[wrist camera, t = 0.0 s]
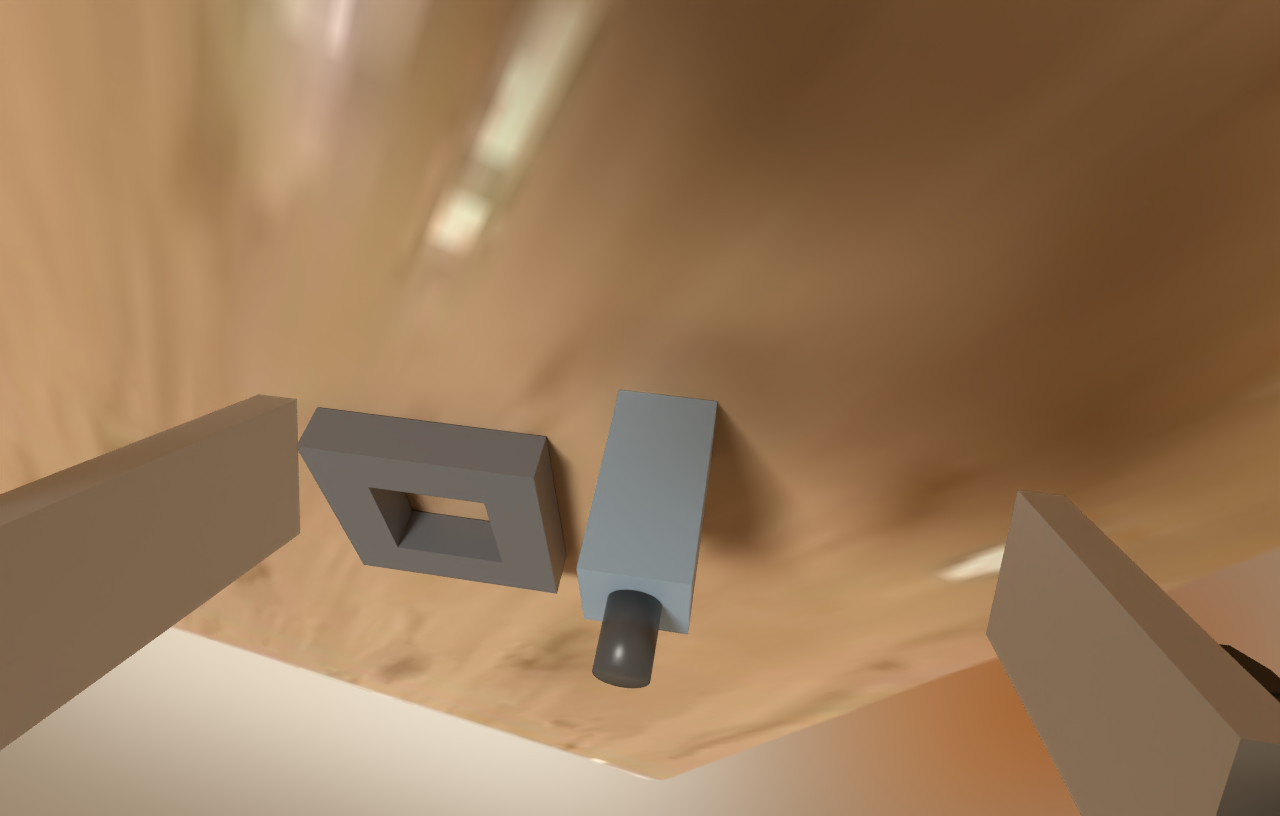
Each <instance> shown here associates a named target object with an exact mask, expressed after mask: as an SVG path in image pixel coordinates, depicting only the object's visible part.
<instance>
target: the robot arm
mask: <svg viewBox="0 0 1280 816" xmlns="http://www.w3.org/2000/svg"><path fill="white" fill-rule="evenodd" d="M299 534H300V509H299V469H298V429H297V399H292V398H284V397H276V396H268V395H260V394H259V395H256V396H253V397H251V398H248V399H246V400H243V401H241V402H238V403H235V404H233V405H230V406H228V407H225V408H222V409H220V410H217V411H215V412H212V413H210V414H207V415H204V416H202V417H199V418H197V419H194V420H191V421H189V422H186V423H184V424H181V425H179V426H176V427H173V428H171V429H168V430H166V431H163V432H160V433H158V434H155V435H153V436H150V437H148V438H145V439H142V440H140V441H137V442H135V443H132V444H129V445H127V446H124V447H122V448H119V449H117V450H114V451H111V452H109V453H106V454H104V455H101V456H98V457H96V458H93V459H91V460H88V461H86V462H83V463H80V464H78V465H75V466H73V467H70V468H67V469H65V470H62V471H60V472H57V473H55V474H52V475H49V476H47V477H44V478H42V479H39V480H36V481H34V482H31V483H29V484H26V485H23V486H21V487H18V488H16V489H13V490H11V491H8V492H5V493H3V494H0V750H2V749H3V748H5V747H6V746H7V745H9V744H10V743H11V742H13V741H14V740H16V739H17V738H18V737H20V736H21V735H22V734H24V733H25V732H27V731H28V730H29V729H31V728H32V727H33V726H35V725H36V724H38V723H39V722H40V721H42V720H43V719H45V718H46V717H47V716H49V715H50V714H51V713H53V712H54V711H56V710H57V709H58V708H60V707H61V706H62V705H64V704H65V703H67V702H68V701H69V700H71V699H72V698H74V697H75V696H76V695H78V694H79V693H81V692H82V691H83V690H85V689H86V688H87V687H88V686H90V685H91V684H93V683H94V682H96V681H97V680H98V679H100V678H101V677H103V676H104V675H105V674H106V673H108V672H109V671H111V670H112V669H113V668H115V667H116V666H118V665H119V664H121V663H122V662H123V661H125V660H126V659H127V658H129V657H130V656H132V655H133V654H134V653H136V652H137V651H138V650H140V649H141V648H143V647H144V646H145V645H147V644H148V643H149V642H151V641H152V640H154V639H155V638H156V637H158V636H159V635H160V634H162V633H163V632H165V631H166V630H167V629H169V628H170V627H172V626H173V625H174V624H176V623H177V622H178V621H180V620H181V619H183V618H184V617H185V616H187V615H188V614H190V613H191V612H192V611H194V610H195V609H196V608H198V607H199V606H201V605H202V604H203V603H205V602H206V601H207V600H209V599H210V598H212V597H213V596H214V595H216V594H217V593H218V592H220V591H221V590H223V589H224V588H225V587H227V586H228V585H230V584H231V583H232V582H234V581H235V580H236V579H238V578H239V577H241V576H242V575H243V574H245V573H246V572H247V571H249V570H250V569H252V568H253V567H254V566H256V565H257V564H259V563H260V562H261V561H263V560H264V559H265V558H267V557H268V556H270V555H271V554H272V553H274V552H275V551H276V550H278V549H279V548H281V547H282V546H283V545H285V544H286V543H287V542H289V541H290V540H292V539H293V538H294V537H296V536H297V535H299ZM986 635H987V637H988V638H989V640H990V642H991V644H992V646H993V648H994V650H995V652H996V654H997V656H998V657H999V659H1000V661H1001V663H1002V665H1003V667H1004V669H1005V671H1006V673H1007V675H1008V676H1009V678H1010V680H1011V682H1012V684H1013V686H1014V688H1015V690H1016V692H1017V693H1018V696H1019V697H1020V699H1021V701H1022V703H1023V705H1024V707H1025V709H1026V711H1027V712H1028V714H1029V716H1030V718H1031V720H1032V722H1033V724H1034V726H1035V728H1036V730H1037V731H1038V733H1039V735H1040V737H1041V739H1042V741H1043V743H1044V745H1045V747H1046V749H1047V751H1048V753H1049V755H1050V756H1051V758H1052V760H1053V762H1054V764H1055V766H1056V768H1057V770H1058V772H1059V774H1060V775H1061V777H1062V779H1063V781H1064V783H1065V785H1066V787H1067V789H1068V791H1069V792H1070V794H1071V796H1072V798H1073V800H1074V802H1075V804H1076V806H1077V808H1078V810H1079V811H1080V814H1081V815H1082V816H1280V678H1279V677H1278V676H1277V675H1276V674H1275V673H1273V672H1272V671H1271V670H1270V669H1268V668H1266V667H1265V666H1263V665H1261V664H1260V663H1258V662H1256V661H1255V660H1253V659H1251V658H1250V657H1248V656H1246V655H1245V654H1243V653H1241V652H1239V651H1238V650H1236V649H1235V648H1233V647H1231V646H1229V645H1221V644H1218V643H1217V642H1216V641H1215V640H1214V639H1213V638H1212V637H1211V636H1210V635H1209V634H1208V633H1207V632H1206V631H1205V630H1204V629H1202V628H1201V626H1200V625H1198V624H1197V623H1196V622H1195V621H1194V620H1193V619H1192V618H1191V617H1190V616H1189V615H1188V614H1187V613H1186V612H1185V611H1184V610H1183V609H1182V608H1181V607H1180V606H1179V605H1178V604H1177V603H1176V602H1175V601H1174V600H1172V599H1171V598H1170V597H1169V596H1168V595H1167V594H1166V593H1165V592H1164V591H1163V590H1162V589H1161V588H1160V587H1159V586H1158V585H1157V584H1156V583H1155V582H1154V581H1153V580H1152V579H1151V578H1150V577H1149V576H1148V575H1147V574H1146V573H1144V572H1143V571H1142V570H1141V569H1140V568H1139V567H1138V566H1137V565H1136V564H1135V563H1134V562H1133V561H1132V560H1131V559H1130V558H1129V557H1128V556H1127V555H1126V554H1125V553H1124V552H1123V551H1122V550H1121V549H1120V548H1119V547H1118V546H1116V545H1115V544H1114V543H1113V542H1112V541H1111V540H1110V539H1109V538H1108V537H1107V536H1106V535H1105V534H1104V533H1103V532H1102V531H1101V530H1100V529H1099V528H1098V527H1097V526H1096V525H1095V524H1094V523H1093V522H1092V521H1091V520H1089V519H1088V518H1087V517H1086V516H1085V515H1084V514H1083V513H1082V512H1081V511H1080V510H1079V509H1078V508H1077V507H1076V506H1075V505H1074V504H1073V503H1072V502H1071V501H1070V500H1069V499H1068V498H1067V497H1066V496H1062V495H1055V494H1047V493H1039V492H1031V491H1023V490H1018V492H1017V496H1016V501H1015V505H1014V510H1013V514H1012V519H1011V523H1010V528H1009V532H1008V537H1007V541H1006V546H1005V550H1004V555H1003V559H1002V564H1001V568H1000V573H999V577H998V582H997V586H996V591H995V595H994V600H993V604H992V609H991V613H990V618H989V622H988V627H987V631H986Z"/></svg>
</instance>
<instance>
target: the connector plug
mask: <svg viewBox="0 0 1280 816" xmlns="http://www.w3.org/2000/svg"><path fill="white" fill-rule="evenodd" d="M716 410H717V401H710V400H701V399H693V398H684V397H676V396H668V395H659V394H651V393H642V392H634V391H626V390H619V393H618V397H617V401H616V406H615V410H614V414H613V418H612V422H611V426H610V431H609V435H608V439H607V443H606V447H605V451H604V455H603V460H602V464H601V468H600V472H599V476H598V480H597V485H596V489H595V493H594V497H593V501H592V505H591V510H590V514H589V518H588V522H587V526H586V530H585V534H584V539H583V543H582V547H581V551H580V555H579V559H578V564H577V568H576V569H577V576H578V582H579V589H580V596H581V602H582V609H583V615H584V619H590V620H597V621H602V626H601V631H600V636H599V640H598V645H597V650H596V655H595V660H594V664H593V669H592V673H593V675H594V676H595V677H596V678H598V679H599V680H601V681H603V682H605V683H608V684H611V685H614V686H618V687H624V688H641V687H645V686H647V685H649V683H650V680H651V673H652V667H653V661H654V655H655V648H656V642H657V636H658V630H663V631H669V632H676V633H682V634H688V630H689V623H690V616H691V608H692V601H693V593H694V586H695V579H696V571H697V564H698V557H699V549H700V542H701V534H702V527H703V520H704V512H705V505H706V498H707V490H708V483H709V476H710V468H711V461H712V451H713V441H714V430H715V420H716Z"/></svg>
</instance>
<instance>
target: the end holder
mask: <svg viewBox="0 0 1280 816" xmlns="http://www.w3.org/2000/svg"><path fill="white" fill-rule="evenodd" d="M298 451H299V452H300V454H301V456H302V458H303V459H304V461H305V463H306V465H307V466H308V468H309V470H310V472H311V473H312V475H313V477H314V479H315V480H316V482H317V484H318V485H319V487H320V489H321V491H322V492H323V494H324V496H325V498H326V499H327V501H328V503H329V505H330V506H331V508H332V510H333V512H334V513H335V515H336V517H337V519H338V520H339V522H340V524H341V526H342V527H343V529H344V531H345V533H346V534H347V536H348V538H349V540H350V541H351V543H352V545H353V546H354V548H355V550H356V552H357V553H358V555H359V557H360V559H361V560H362V562H363V564H364V565H370V566H377V567H383V568H390V569H397V570H403V571H410V572H417V573H423V574H430V575H437V576H443V577H450V578H457V579H463V580H470V581H477V582H483V583H490V584H497V585H503V586H510V587H517V588H523V589H530V590H537V591H543V592H550V593H557V591H558V587H559V583H560V579H561V575H562V571H563V567H564V563H565V559H566V551H565V545H564V540H563V534H562V528H561V522H560V516H559V510H558V504H557V498H556V492H555V486H554V480H553V474H552V469H551V463H550V457H549V451H548V445H547V439H546V437H545V436H537V435H529V434H521V433H513V432H505V431H498V430H490V429H482V428H474V427H466V426H458V425H450V424H443V423H435V422H427V421H419V420H411V419H403V418H396V417H388V416H380V415H372V414H364V413H356V412H348V411H341V410H333V409H325V408H317V409H316V411H315V413H314V414H313V416H312V418H311V420H310V422H309V424H308V425H307V427H306V429H305V431H304V433H303V435H302V436H301V438H300V440H299V442H298ZM405 492H407V493H414V494H421V495H429V496H436V497H443V498H450V499H458V500H465V501H472V502H479V503H485V507H486V510H487V513H488V517H489V520H490V521H483V520H476V519H469V518H462V517H455V516H447V515H440V514H433V513H426V512H419V511H413V510H412V508H411V506H410V503H409V501H408V499H407V496H406V494H405Z"/></svg>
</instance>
